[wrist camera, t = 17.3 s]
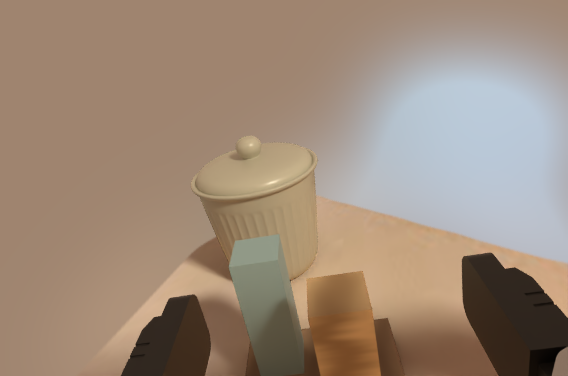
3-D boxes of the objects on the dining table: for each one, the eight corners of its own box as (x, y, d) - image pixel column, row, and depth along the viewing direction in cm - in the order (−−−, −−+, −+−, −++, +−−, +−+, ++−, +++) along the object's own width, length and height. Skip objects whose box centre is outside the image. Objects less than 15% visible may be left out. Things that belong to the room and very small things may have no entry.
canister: (358, 252, 64) (339, 120, 55) (273, 321, 53) (234, 172, 45) (279, 224, 76) (254, 114, 68) (198, 276, 66) (156, 153, 58)
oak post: (379, 394, 38) (362, 270, 33) (389, 441, 34) (372, 309, 29) (331, 399, 39) (306, 278, 33) (335, 446, 35) (308, 317, 29)
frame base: (389, 331, 48) (375, 210, 41) (438, 503, 31) (427, 346, 25) (254, 348, 49) (221, 234, 43) (234, 521, 33) (175, 377, 27)
